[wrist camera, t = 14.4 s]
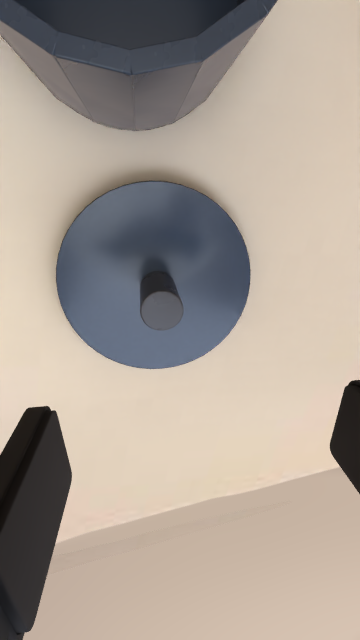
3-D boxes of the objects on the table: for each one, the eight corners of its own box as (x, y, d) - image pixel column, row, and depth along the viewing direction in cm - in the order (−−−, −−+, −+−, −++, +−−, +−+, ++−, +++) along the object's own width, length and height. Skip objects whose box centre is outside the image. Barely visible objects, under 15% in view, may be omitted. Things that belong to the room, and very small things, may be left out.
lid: (253, 179, 22) (293, 175, 16) (239, 355, 28) (264, 395, 22) (39, 183, 20) (1, 179, 14) (77, 369, 26) (60, 417, 21)
